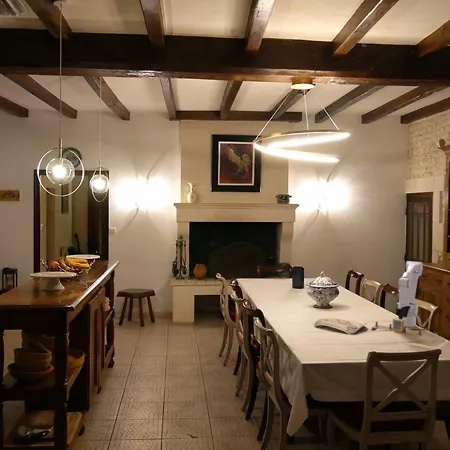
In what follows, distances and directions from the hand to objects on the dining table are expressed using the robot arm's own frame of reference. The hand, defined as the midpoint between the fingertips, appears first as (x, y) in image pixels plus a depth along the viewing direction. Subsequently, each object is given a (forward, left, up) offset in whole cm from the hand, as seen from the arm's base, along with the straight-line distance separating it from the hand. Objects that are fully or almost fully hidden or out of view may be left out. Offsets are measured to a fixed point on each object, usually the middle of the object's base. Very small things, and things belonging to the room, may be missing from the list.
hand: (402, 318), depth 322 cm
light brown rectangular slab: (+2, -2, -8) cm, 8 cm away
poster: (+14, -35, -10) cm, 39 cm away
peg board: (+2, -2, -9) cm, 10 cm away
